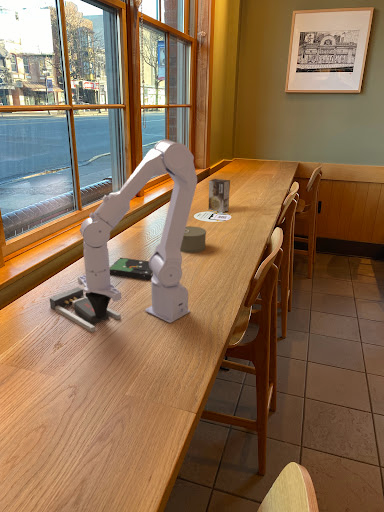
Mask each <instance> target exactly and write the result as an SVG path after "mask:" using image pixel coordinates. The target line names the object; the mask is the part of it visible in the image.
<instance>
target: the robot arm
mask: <svg viewBox="0 0 384 512" xmlns="http://www.w3.org/2000/svg"><path fill="white" fill-rule="evenodd" d="M194 160H195V157H194V155H193V153H192V152H191V151H190V148H188V147H187V146H186V145H185V144H184V143H181V142H175V141H173V140H170V139H161V140H159V141H157V142H156V143H155V145H154V146H153V148H150V150H149V151H148V152H147V153H146V155H145V157H144V158H143V159H142V160H141V161H140V163H139V164H138V166H137V167H136V168H135V170H134V171H133V172H132V174H131V175H130V176H129V178H128V179H127V180H126V182H124V184H123V185H122V186H121V188H120V189H119V191H116V192H114V191H113V192H110V193H109V194H108V195H106V194H104V196H103V197H102V198H101V200H102V202H101V203H100V204H99V206H98V207H97V208H96V209H95V211H94V212H90V214H89V215H88V216H89V218H86V219H84V220H83V221H82V223H81V224H80V228H79V232H80V235H81V237H82V238H83V244H82V245H83V246H82V247H83V261H84V271H85V272H84V273H85V274H82V275H79V276H78V277H77V283H78V285H80V286H83V288H82V289H83V293H85V294H84V296H86V297H87V298H88V300H89V301H90V303H91V305H92V307H93V309H94V312H95V315H96V317H97V318H98V319H101V318H103V317H105V316H106V312H107V307H108V306H109V304H110V301H111V299H112V301H113V302H119V301H120V300H122V292H121V291H120V290H118V288H117V287H116V286H115V285H114V284H113V283H112V282H111V275H110V268H109V267H110V255H109V248H108V242H109V240H110V238H111V231H112V230H114V228H116V226H117V225H118V224H119V223H120V221H121V220H123V218H124V217H125V216H126V215H127V213H128V212H129V211H130V210H131V207H130V205H131V204H130V203H131V200H133V198H135V196H136V195H137V194H138V193H139V192H140V191H141V190H142V189H143V188H144V187H145V186H146V185H147V183H149V181H150V180H151V179H152V178H154V177H156V176H157V177H158V176H161V175H166V174H169V176H170V178H171V179H172V182H173V184H174V185H173V188H172V192H171V196H170V200H169V205H168V209H167V213H166V217H165V222H164V226H163V231H162V234H161V239H160V242H159V244H157V245H156V246H155V250H154V252H153V253H152V255H151V256H150V257H149V267H150V269H151V270H152V271H153V276H152V278H151V279H150V280H151V282H150V285H151V306H149V307H147V308H145V309H144V311H145V312H146V313H149V314H150V315H152V316H154V317H157V318H159V319H161V320H163V321H165V322H167V323H169V324H171V323H173V322H175V321H177V320H178V319H180V318H182V317H184V316H185V315H187V314H189V313H190V312H191V310H190V309H189V291H188V289H187V288H186V286H184V285H182V284H181V282H180V281H181V279H182V277H183V270H182V263H183V258H182V257H183V256H182V252H181V251H180V248H181V244H182V240H183V236H184V232H185V228H186V227H187V225H188V224H187V223H188V220H189V216H190V212H191V209H192V203H193V200H194V196H195V192H196V189H197V184H198V176H197V172H196V168H195V163H194ZM108 308H109V307H108Z"/></svg>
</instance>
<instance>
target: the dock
mask: <svg viewBox="0 0 384 512" xmlns="http://www.w3.org/2000/svg"><path fill="white" fill-rule="evenodd" d="M48 298H49V306H50V309H53V310H54V311H55V312H56V313H59V314H61V315H63V316H64V317H65V318H67V319H69V320H70V321H72V322H74V323H76V324H77V325H78V326H80V327H82V328H84V329H85V330H87V331H88V332H91V333H93V332H95V331H96V326H95V325H94V324H93V325H91V324H90V323H88V322H86V321H85V320H84V319H82V318H81V317H80V316H79V315H78V316H77V314H74V313H73V312H71V311H69V310H68V309H66V307H68V306H70V305H72V301H74V300H77V299H80V298H87V297H86V296H85V294H84V291H83V288H81V287H79V286H77V287H74V288H71V289H69V290H66V291H64V292H61V293H58V294H55V295H53V296H51V297H48ZM87 299H88V298H87ZM107 313H108V315H109V317H112V318H113V319H116V320H120V319H121V318H122V317H121V316H122V315H121V313H119V312H117V311H115V310H114V309H111V308H109V307H107Z"/></svg>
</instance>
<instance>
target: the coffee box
mask: <svg viewBox="0 0 384 512" xmlns="http://www.w3.org/2000/svg"><path fill="white" fill-rule="evenodd" d="M230 186H231V180H229V179H220V178H213V179H209V180H208V210H213V211H218V212H225V211H228V210H229V209H230V207H229V206H230V205H229V204H230ZM218 212H217V213H218ZM228 212H229V211H228ZM225 213H226V212H225Z"/></svg>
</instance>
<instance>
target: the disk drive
mask: <svg viewBox="0 0 384 512" xmlns="http://www.w3.org/2000/svg"><path fill="white" fill-rule="evenodd" d="M109 268H110V276H115V277H116V276H117V277H121V278H128V279H134V280H135V279H136V280H143V281H150V280H151V279H152V276H153V271H152V270H151V269H150V267H149V261H148V260H143V259H134V258H133V259H132V258H127V257H120V258H119V259H117V260H116V261H114V262H113V264H112V265H111V266H109Z"/></svg>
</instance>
